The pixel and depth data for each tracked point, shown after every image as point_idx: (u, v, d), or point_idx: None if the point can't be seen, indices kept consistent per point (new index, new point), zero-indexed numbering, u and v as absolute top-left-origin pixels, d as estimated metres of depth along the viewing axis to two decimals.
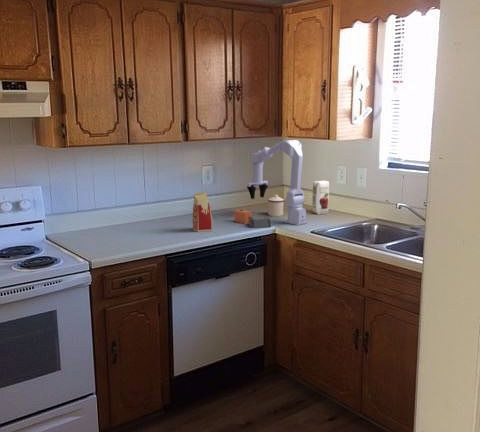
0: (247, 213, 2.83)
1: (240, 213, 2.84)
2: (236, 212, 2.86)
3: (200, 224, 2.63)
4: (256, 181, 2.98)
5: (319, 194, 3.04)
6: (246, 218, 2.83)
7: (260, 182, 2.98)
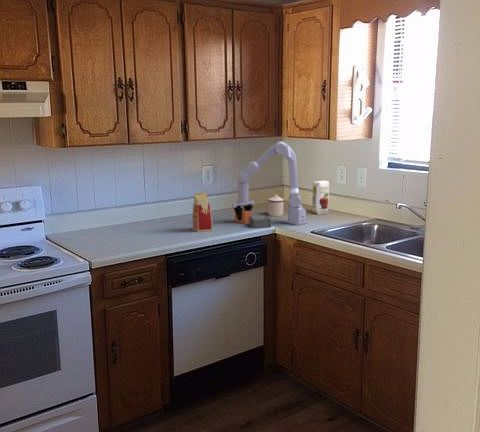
0: (247, 213, 2.83)
1: None
2: None
3: (200, 224, 2.63)
4: (242, 202, 2.82)
5: (319, 194, 3.04)
6: (246, 218, 2.83)
7: (246, 203, 2.82)
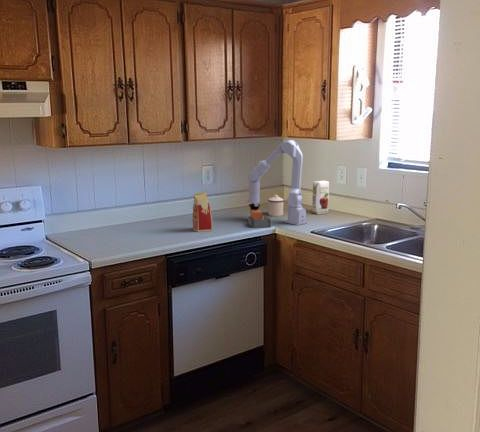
0: (256, 213, 2.82)
1: (251, 212, 2.85)
2: (250, 211, 2.88)
3: (200, 224, 2.63)
4: (257, 200, 2.88)
5: (319, 194, 3.04)
6: (254, 218, 2.82)
7: (259, 200, 2.90)
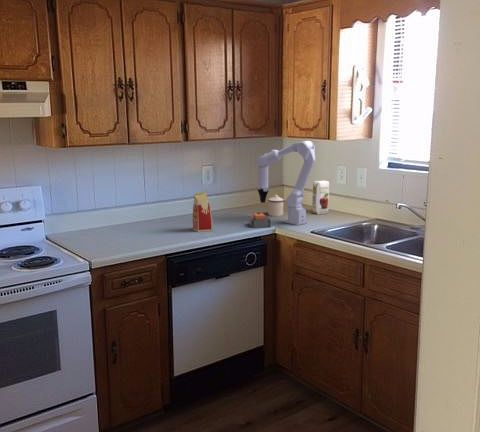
0: (259, 217, 2.73)
1: (254, 216, 2.76)
2: (253, 215, 2.79)
3: (200, 224, 2.63)
4: (266, 185, 2.88)
5: (319, 194, 3.04)
6: None
7: None
